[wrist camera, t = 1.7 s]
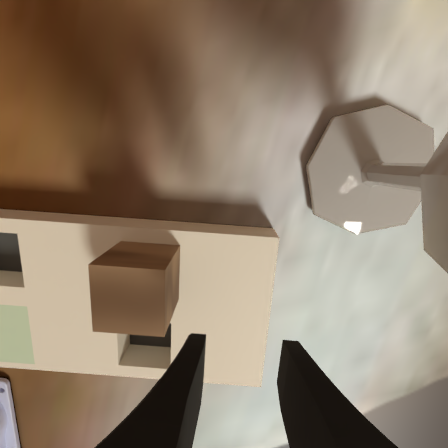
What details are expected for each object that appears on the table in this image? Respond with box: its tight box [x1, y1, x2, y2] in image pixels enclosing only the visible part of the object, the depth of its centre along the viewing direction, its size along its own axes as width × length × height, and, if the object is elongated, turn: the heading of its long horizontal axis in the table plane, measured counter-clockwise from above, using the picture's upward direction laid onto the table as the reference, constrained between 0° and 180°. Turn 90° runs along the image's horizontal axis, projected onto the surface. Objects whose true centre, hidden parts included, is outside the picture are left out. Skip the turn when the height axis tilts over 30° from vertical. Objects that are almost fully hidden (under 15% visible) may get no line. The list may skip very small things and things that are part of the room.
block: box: [88, 241, 180, 337], centre depth 16 cm, size 4×4×4 cm
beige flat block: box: [0, 209, 279, 387], centre depth 19 cm, size 12×23×4 cm, turn 86°
